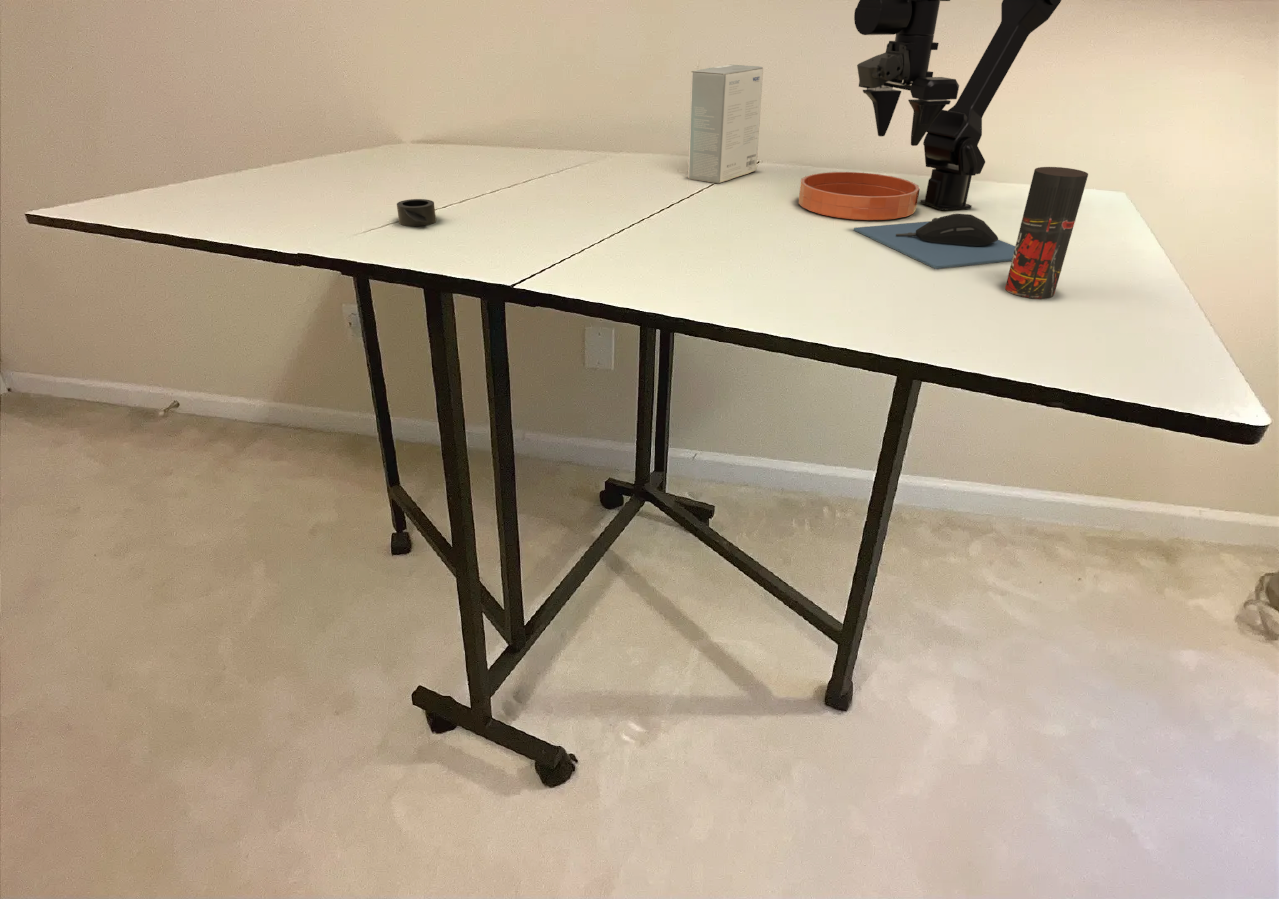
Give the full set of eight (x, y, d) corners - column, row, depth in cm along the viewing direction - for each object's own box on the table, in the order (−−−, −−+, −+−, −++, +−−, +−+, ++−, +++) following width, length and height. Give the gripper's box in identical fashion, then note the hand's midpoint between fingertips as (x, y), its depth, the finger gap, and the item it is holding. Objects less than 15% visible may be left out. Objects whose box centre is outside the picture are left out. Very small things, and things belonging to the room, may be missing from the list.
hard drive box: (725, 166, 172) (732, 63, 162) (757, 171, 169) (766, 66, 159) (686, 178, 161) (690, 69, 151) (718, 184, 158) (725, 72, 148)
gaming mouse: (894, 231, 128) (899, 205, 126) (993, 238, 125) (999, 212, 123) (896, 241, 123) (900, 215, 121) (999, 249, 120) (1005, 222, 118)
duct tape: (380, 227, 127) (377, 208, 125) (409, 212, 135) (407, 194, 134) (426, 231, 125) (423, 212, 124) (452, 215, 134) (450, 197, 132)
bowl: (872, 190, 154) (876, 169, 152) (939, 216, 138) (944, 192, 136) (778, 197, 149) (780, 175, 147) (836, 225, 132) (839, 200, 130)
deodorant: (996, 284, 107) (1025, 166, 100) (1039, 283, 108) (1071, 166, 100) (1018, 299, 102) (1050, 176, 95) (1063, 298, 103) (1098, 176, 95)
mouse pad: (946, 222, 135) (947, 219, 135) (1038, 258, 118) (1039, 255, 118) (853, 230, 130) (853, 227, 130) (935, 268, 113) (936, 266, 112)
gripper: (837, 31, 130) (825, 133, 138) (906, 38, 115) (888, 153, 123) (896, 31, 134) (880, 131, 141) (971, 38, 118) (949, 149, 126)
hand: (897, 140), depth 133 cm, fingers open, 9 cm apart
